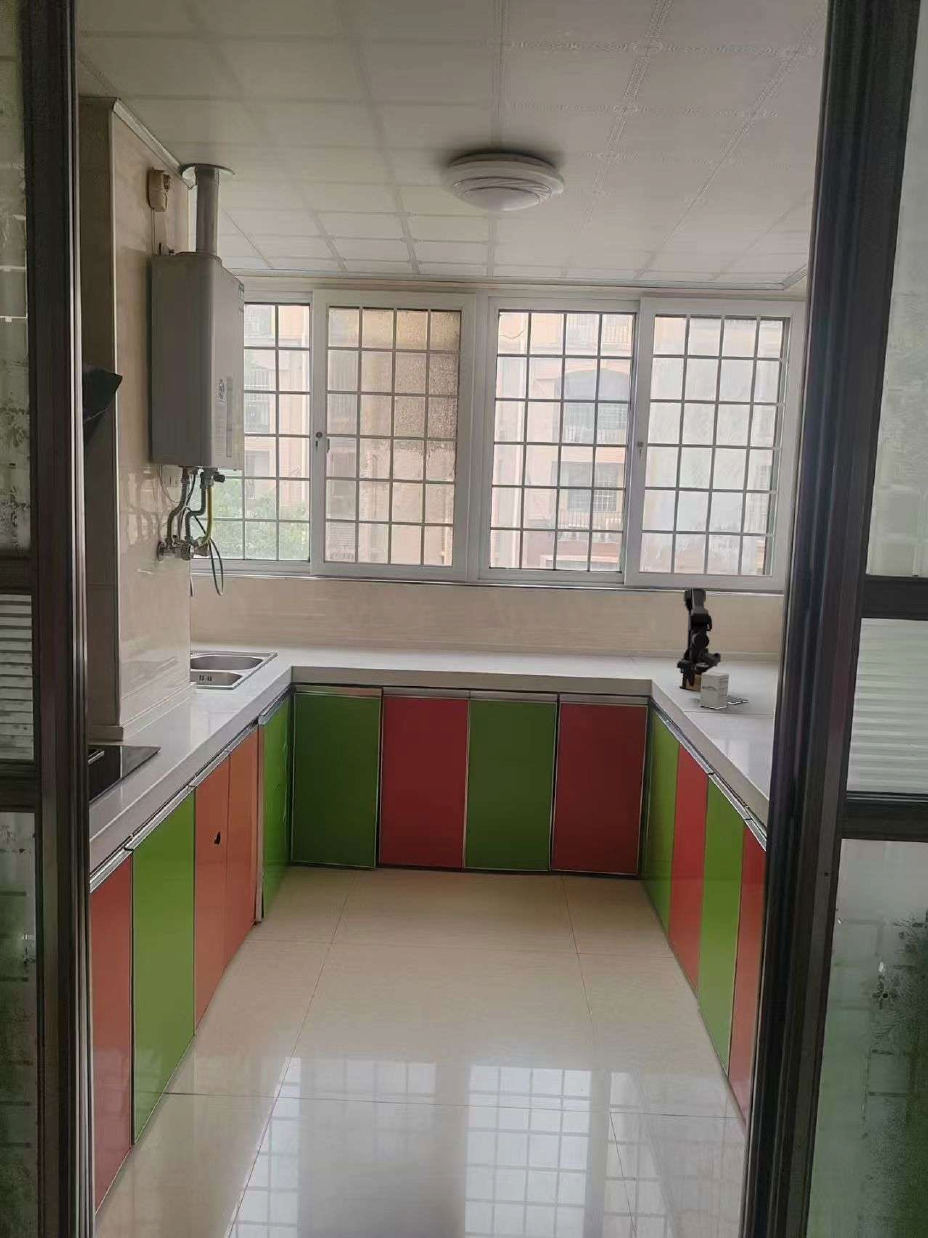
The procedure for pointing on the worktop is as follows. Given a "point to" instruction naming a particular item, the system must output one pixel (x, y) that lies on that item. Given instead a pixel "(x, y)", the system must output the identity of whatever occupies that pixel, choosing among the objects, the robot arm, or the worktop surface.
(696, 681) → the walnut block
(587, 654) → the worktop surface
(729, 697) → the slate mat
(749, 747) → the worktop surface
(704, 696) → the supplement box
